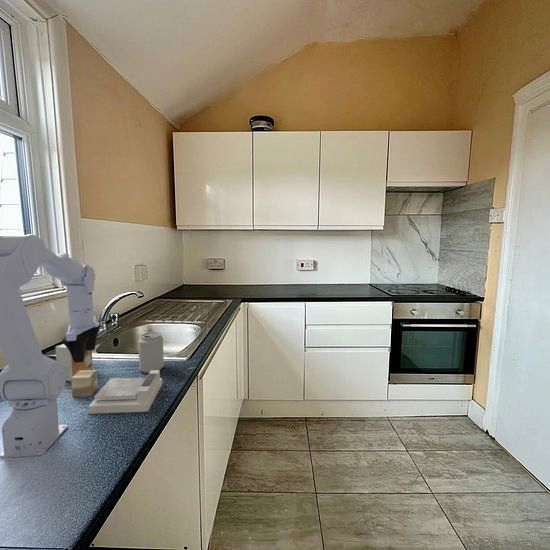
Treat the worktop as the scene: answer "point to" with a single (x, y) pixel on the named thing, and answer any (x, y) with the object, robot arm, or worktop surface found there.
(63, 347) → the small box
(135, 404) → the scale base
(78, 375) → the beech block
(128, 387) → the pan
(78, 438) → the worktop surface
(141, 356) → the can
